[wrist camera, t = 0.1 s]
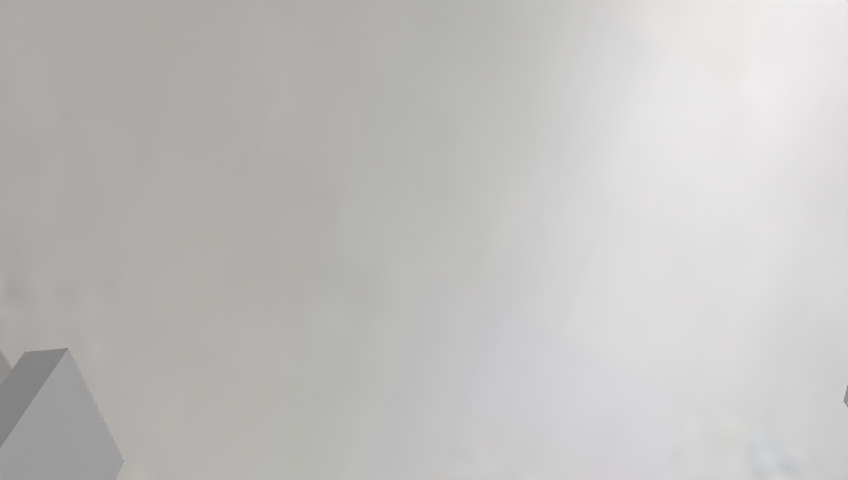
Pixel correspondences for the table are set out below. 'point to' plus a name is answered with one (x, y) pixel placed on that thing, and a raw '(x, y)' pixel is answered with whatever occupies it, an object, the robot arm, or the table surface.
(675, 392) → the table surface
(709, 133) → the table surface
